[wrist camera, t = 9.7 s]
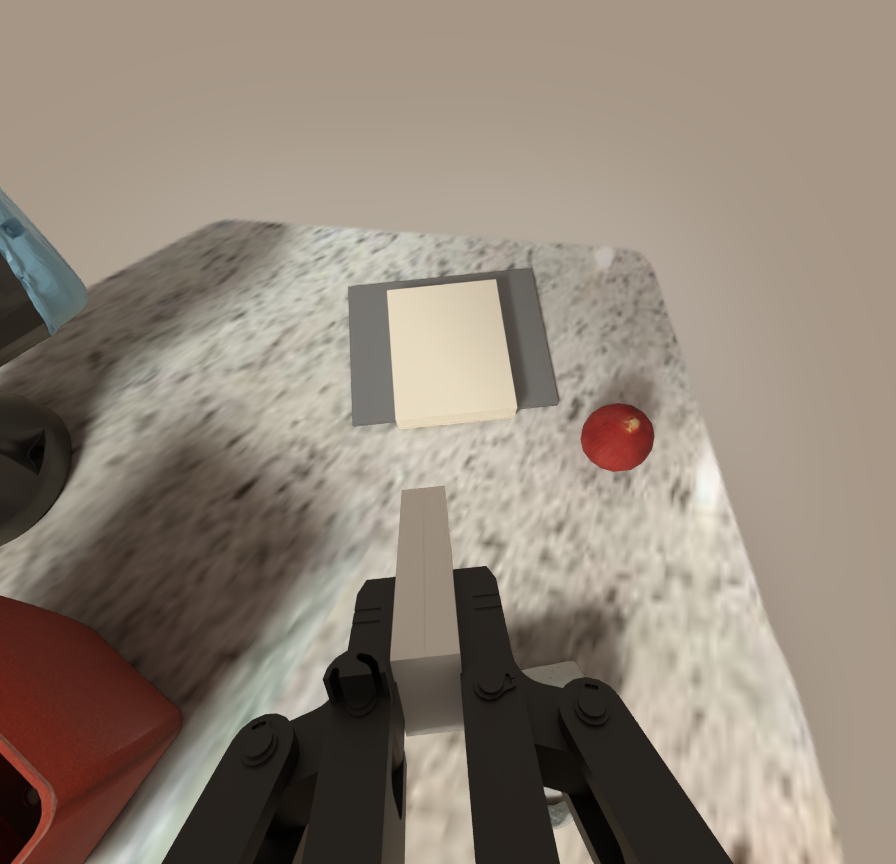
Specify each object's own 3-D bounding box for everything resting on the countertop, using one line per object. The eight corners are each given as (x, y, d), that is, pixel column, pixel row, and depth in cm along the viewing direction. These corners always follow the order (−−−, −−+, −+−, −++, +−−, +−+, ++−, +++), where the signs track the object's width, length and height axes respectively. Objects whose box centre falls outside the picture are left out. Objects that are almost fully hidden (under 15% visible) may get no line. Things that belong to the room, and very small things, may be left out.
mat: (557, 405, 43) (558, 403, 42) (353, 426, 42) (352, 424, 42) (530, 271, 48) (531, 268, 47) (349, 289, 48) (348, 286, 47)
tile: (395, 420, 39) (386, 290, 44) (399, 430, 42) (390, 306, 46) (517, 407, 39) (495, 279, 44) (513, 418, 42) (493, 296, 46)
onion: (592, 409, 42) (621, 372, 35) (645, 443, 41) (687, 412, 34) (560, 455, 41) (583, 427, 33) (614, 492, 40) (650, 471, 32)
